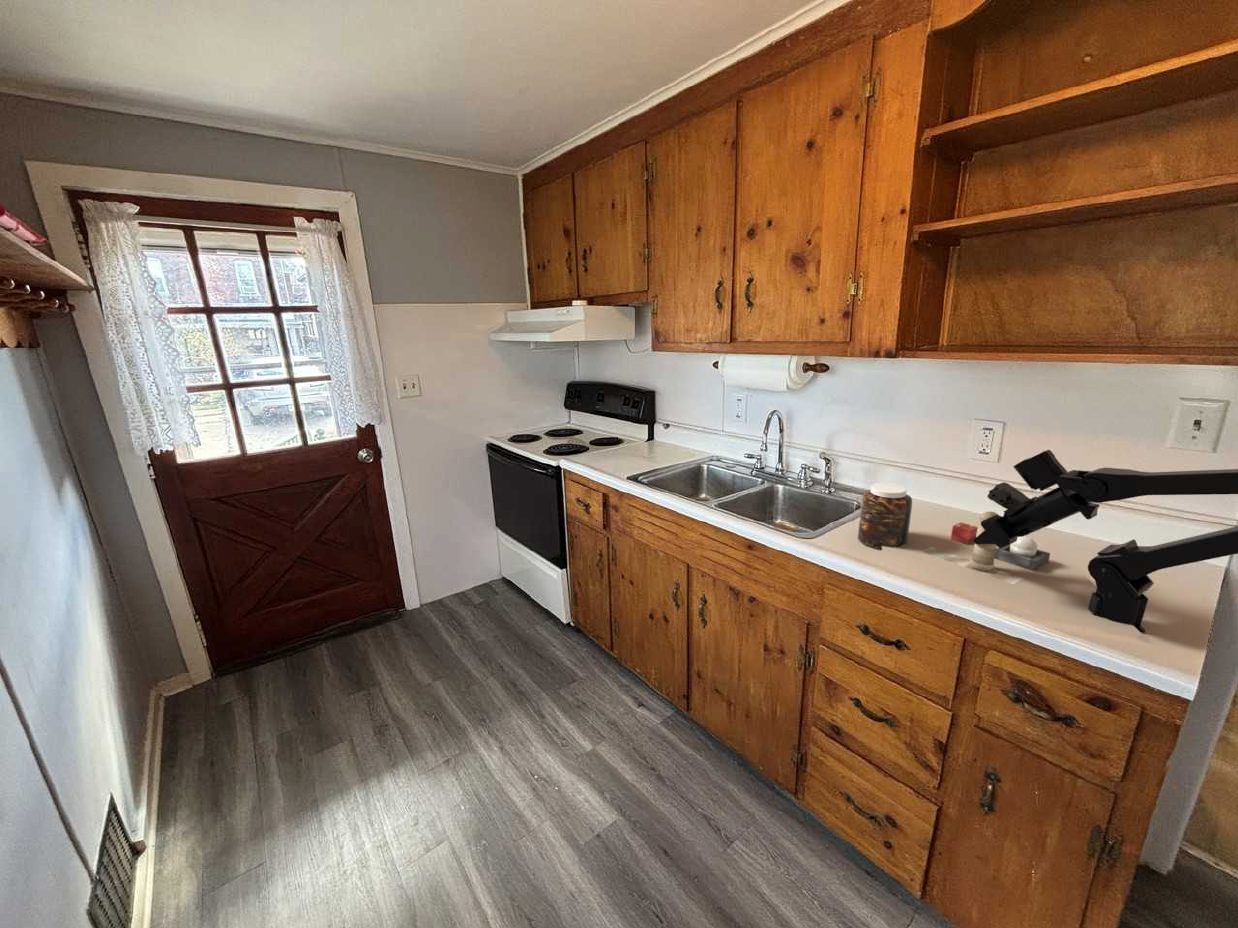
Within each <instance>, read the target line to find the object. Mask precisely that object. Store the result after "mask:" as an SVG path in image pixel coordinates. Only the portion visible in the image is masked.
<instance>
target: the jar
mask: <svg viewBox="0 0 1238 928" xmlns="http://www.w3.org/2000/svg"><path fill="white" fill-rule="evenodd" d="M861 500H862V501H861V506H860V507H861V508H860V514H859V516H860V517H859V522H858V533H857V540H858V541H859V542H860V543H861V544H862V545H864V546H866V547H869V548H872V549H875V550H880V551H883V547H887V548H888V547H889V548H893V547H894V548H895V547H903V546H905V545H907V543H908V537H909V530H910V526H911V525H910V524H911V516H912V509H913V499H912V497H911V496H910V495H909V494H907V487H905V486H903V485H900V484H896V483H889V482H876V483H873V484H871V485H870V489H869V490H866V491H865V492H864V493H863V496H862V499H861Z"/></svg>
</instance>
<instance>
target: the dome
mask: <svg viewBox="0 0 1238 928" xmlns="http://www.w3.org/2000/svg"><path fill="white" fill-rule="evenodd" d="M1037 549H1038V545H1037V542H1036V540H1035V539H1033V538H1032V537H1030V536H1027V535H1025V536H1023V537H1017V541H1016V542H1014V543H1012V544H1011V545H1010V550H1009V552H1012V553H1015V554H1018V555H1021V556H1024V557H1028V558H1034V557H1035V555H1036V551H1037Z"/></svg>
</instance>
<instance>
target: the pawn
mask: <svg viewBox="0 0 1238 928" xmlns="http://www.w3.org/2000/svg"><path fill="white" fill-rule="evenodd" d="M995 515H999V514H998V513H997V512H995V511H991V510H990V511H985V512H983V513H981V515H980V516H979V524H978V525H977V527H978V529H977V534H976V537H977V536H978V535H980V534H981V533H982V532H983V531H985V530H984V528H983V527H982V526H981V522H982V521H984V520H986V519H988V518H990V517H992V516H995ZM997 548H998V547H997V545H996V544H975V543H974V545H973V551H972V556H971V558H970V560H971V561H970V563H969V565H971V566H972V567H974V568H976V569H980V570H985V571H991V570H993V569H995V553H996V549H997Z"/></svg>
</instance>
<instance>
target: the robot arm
mask: <svg viewBox="0 0 1238 928" xmlns="http://www.w3.org/2000/svg"><path fill="white" fill-rule="evenodd" d="M1013 468H1014V470H1015V471H1016V472H1017V474H1018V475H1019V476H1020V477H1021V478H1022V480H1023V481H1024V482H1025V483H1026V484H1027V485H1028V487H1029V488H1030V489H1031V490H1034V491H1038V490H1039V491H1040V492H1043V491H1045V490H1048V489H1049V488H1051V487H1054V486H1055V485H1056V486H1058V487H1056V488H1054V489H1052V490H1050V491H1047V492H1045V493H1043V494H1041V495H1039V496H1034V497H1032V498H1029V497H1028V496H1027V495H1025V494H1024V493H1023V492H1022V491H1020V490H1018V489H1017V488H1016V487H1014V486H1012V485H1011V484H1010V483H1007V482H1002V483H1001V482H1000V483H998V484H996V485H995V486H994V487H993V488H992V489H990V490H988V494H987V496H986V497H987V498H988V499H989V500H991V501H993V502H994V503H996V504H997V505H999V506H1001V507H1002V508H1004V509H1005V510H1003V511H1002V512H1003V516H1002V515H999V514H998V515H995V516H992V517H990V518H988V519H986V520H984V521H982V522H981V526H982V527H983V528H984V530H985V531H983V532H982V533H981V534H980V535H978V536H977V537H976V538H975V539H974V540H973V541H974V542H973V543H974V545H975V544H996V545H997V548H1003V547H1005V546H1008V545H1010V544H1012V543H1014V542H1016V541H1017V537H1023V536H1027V535H1031V534H1032V533H1034V532H1038V531H1040V530H1041V529H1044V528H1046V527H1048V526H1051V525H1053V524H1055V523H1057V522H1060V521H1063V520H1065V519H1066V518H1070V516H1074V515H1076V514H1079V513H1081V515H1082V516H1083V517H1084V518H1085V519H1086V520H1091V519H1093V518H1095V517H1097V516H1098V511H1099V510H1098V509H1099V508H1100V506H1101V505H1100V503H1107V502H1114V501H1120V500H1127V499H1131V498H1138V497H1144V496H1182V495H1183V496H1185V495H1186V496H1189V495H1192V496H1197V495H1200V496H1201V495H1202V496H1203V495H1205V496H1206V495H1210V496H1211V495H1238V468H1229V469H1207V470H1206V469H1205V470H1178V471H1154V472H1152V471H1151V472H1150V471H1149V472H1148V471H1139V470H1135V469H1134V470H1133V469H1130V468H1129V469H1128V468H1117V467H1116V468H1115V467H1099V468H1097V469H1095V470H1092V471H1091V470H1081V469H1080V470H1079V469H1078V470H1077V469H1073V470H1072V469H1071V470H1069V471H1068V470H1067V469H1066V468H1065V467H1064V466H1063V465H1062V463H1061V462H1060V461H1059V460H1058V459H1057V457H1056V456H1055V454H1054V453H1053V451H1051V449H1047V450H1043V451H1042V452H1041V453H1038V454H1036V455H1034V456H1032V457H1028V458H1025V459H1024V460H1022V461H1020V462H1018V463H1016V464H1015V465H1013ZM1096 554H1097V555H1096V556H1095V557H1094V558H1092V559H1090V560H1089V562H1088V564H1087V571H1088V573H1089V575H1090V577H1092V579H1093V580H1094V582H1095V586H1096V589H1095V592H1094V591H1093V592H1092V593H1091V595H1090V599H1089V604H1088V607H1087V610H1088V611H1089V612H1090V613H1091V614H1092V615H1093V616H1095V617H1099V618H1102V619H1103V618H1104V619H1107V620H1109V621H1111V622H1115V623H1118V624H1123V625H1133V627H1134V628H1135V629H1136V630H1137V631H1138V632H1139V633H1145V632H1146V629H1145V628H1144V627H1143V626H1142V623H1143V622H1142V621H1143V618H1144V616H1145V613H1146V608H1147V605H1148V602H1149V598H1148V597H1147V596H1146V595H1145V594H1144V593H1145V592H1147V591H1148V590H1149V589H1150V588H1151V587H1152V586H1153V585H1154V581H1153V580H1152V579H1151V577H1149V576H1148V575H1150V574H1152V573H1155V572H1157V571H1159V570H1163V569H1168V568H1173V567H1177V566H1183V565H1188V564H1193V563H1197V562H1203V561H1207V560H1212V559H1213V560H1214V559H1218V558H1222V557H1228V556H1232V555H1237V554H1238V526H1232V527H1228V528H1224V529H1220V530H1215V531H1212V532H1208V533H1203V534H1199V535H1195V536H1194V535H1193V536H1190V537H1187V538H1185V537H1184V538H1181V539H1178V540H1173V541H1170V542H1169V541H1168V542H1165V543H1161V544H1155V545H1149V546H1147V545H1143V546H1142V545H1139V544H1138V543H1137V541H1136V539H1131V540H1129V541H1127V542H1123V543H1122V544H1110V545H1108V546H1106V547H1105V548H1103V549H1101V550H1100V551H1099V552H1096Z"/></svg>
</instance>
